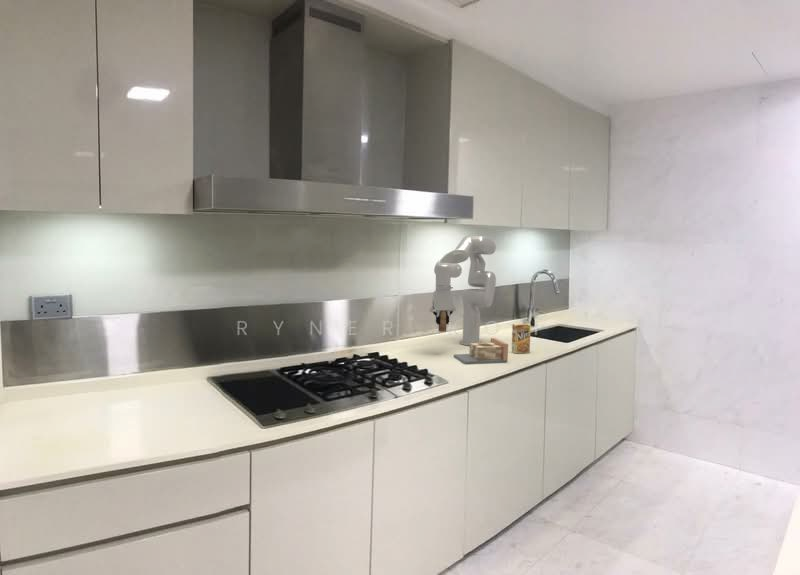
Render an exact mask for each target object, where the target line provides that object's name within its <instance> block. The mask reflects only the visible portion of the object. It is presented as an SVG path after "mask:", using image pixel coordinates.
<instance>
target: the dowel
mask: <svg viewBox="0 0 800 575" xmlns="http://www.w3.org/2000/svg"><path fill="white" fill-rule="evenodd" d="M439 317H440V324H439V325H438V332H440V333H441V332H442V333H444V332H445V333H446V332H447V324H446V319H447V311H446V310H442V311H440V313H439Z"/></svg>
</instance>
